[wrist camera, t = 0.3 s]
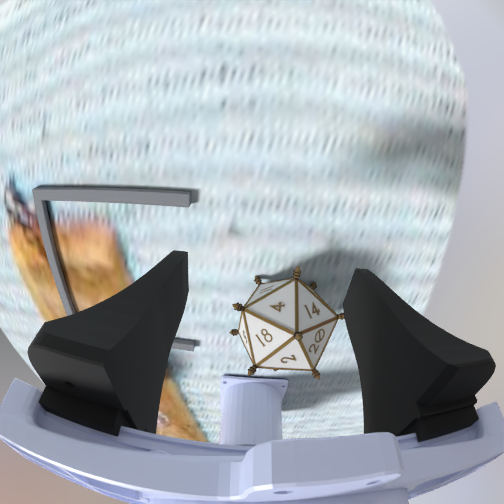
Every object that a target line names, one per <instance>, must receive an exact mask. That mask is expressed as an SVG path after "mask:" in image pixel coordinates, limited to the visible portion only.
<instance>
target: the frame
mask: <svg viewBox="0 0 504 504" xmlns="http://www.w3.org/2000/svg"><path fill="white" fill-rule="evenodd" d="M32 191H33V197H34V202H35V207H36V212H37V217H38V222H39V226H40V230H41V235H42V239H43V243H44V246H45V250H46V254H47V257H48V261H49V264H50V267H51V271H52V274H53V277H54V280H55V283H56V286H57V289H58V292H59V295H60V298H61V300H62V303H63V306H64V308H65V311H66V314H67V316H69V315H72V314H75V313H76V312H75V309H74V306H73V303H72V301H71V298H70V295H69V292H68V289H67V285H66V282H65V279H64V276H63V272H62V269H61V266H60V262H59V258H58V255H57V251H56V247H55V243H54V239H53V234H52V230H51V225H50V221H49V216H48V211H47V205H46V200H53V201H86V202H109V203H129V204H146V205H162V206H176V207H189V206H190V204H191V192H188V191H172V190H154V189H131V188H98V187H36V188H34V189H33V190H32ZM171 348H174V349H180V350H188V351H194V341H190V340H182V339H175V338H174V341H173V344H172V347H171Z"/></svg>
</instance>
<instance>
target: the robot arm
mask: <svg viewBox="0 0 504 504" xmlns="http://www.w3.org/2000/svg"><path fill="white" fill-rule="evenodd" d="M188 291H189V286H188V252H185V251H175V250H174V251H172V252H171V253H170V254H169V255H167V256H166V257H165V258H164V259H163V260H162V261H160V262H159V263H158V264H157V265H156V266H154V267H153V268H152V269H151V270H150V271H148V272H147V273H146V274H145V275H143V276H142V277H141V278H139V279H138V280H137V281H135V282H134V283H133V284H131V285H130V286H128V287H127V288H125V289H124V290H122V291H120V292H119V293H117V294H115V295H114V296H112V297H110V298H108V299H106V300H104V301H102V302H100V303H98V304H96V305H94V306H92V307H90V308H87V309H85V310H83V311H80V312H77V313H75V314H72V315H69V316H66V317H62V318H59V319H55V320H52V321H48V322H45V323H44V324H43V326H42V327H41V329H40V330H39V332H38V333H37V335H36V337H35V338H34V340H33V341H32V343H31V345H30V346H29V348H28V356H29V360H30V362H31V364H32V366H33V367H34V369H35V370H36V372H37V373H38V375H39V376H40V378H41V379H42V381H43V382H44V383H45V385H46V387H45V389H44V391H43V392H42V391H41V390H39V389H38V388H36V387H34V386H32V385H30V384H28V383H26V382H23V381H21V380H19V379H17V378H14V380H13V381H12V383H11V385H10V387H9V389H8V391H7V393H6V395H5V397H4V399H3V401H2V403H1V405H0V439H1V440H3V441H4V442H5V443H6V444H8V445H9V446H10V447H11V448H13V449H14V450H15V451H17V452H18V453H19V454H21V455H22V456H23V457H25V458H27V459H28V460H30V461H32V462H34V463H36V464H38V465H39V466H41V467H43V468H45V469H47V470H49V471H51V472H53V473H55V474H57V475H59V476H61V477H63V478H65V479H68V480H70V481H72V482H74V483H76V484H79V485H81V486H83V487H86V488H88V489H91V490H93V491H96V492H98V493H101V494H104V495H107V496H110V497H112V498H115V499H118V500H121V501H124V502H127V503H131V504H409V503H408V499H411V498H414V497H417V496H419V495H422V494H425V493H427V492H430V491H433V490H435V489H437V488H440V487H442V486H445V485H447V484H449V483H451V482H454V481H456V480H458V479H460V478H463V477H465V476H467V475H469V474H471V473H473V472H475V471H477V470H479V469H480V468H482V467H483V466H485V465H486V464H488V463H490V462H491V461H493V460H494V459H495V458H497V457H498V456H500V455H501V454H503V453H504V418H503V416H502V413H501V411H500V408H499V406H498V404H497V402H493V403H491V404H488V405H485V406H482V407H480V408H479V409H477V410H475V407H474V404H476V403H477V399H476V397H475V394H476V393H477V392H478V391H479V390H480V389H481V388H482V387H483V386H484V385H485V384H486V383H487V381H488V380H489V379H490V377H491V376H492V375H493V373H494V370H495V367H496V365H495V362H494V360H493V359H492V357H491V355H490V353H489V352H488V351H487V350H485V349H482V348H480V347H477V346H475V345H472V344H470V343H467V342H465V341H463V340H461V339H459V338H457V337H455V336H453V335H452V334H450V333H448V332H446V331H445V330H443V329H441V328H440V327H438V326H436V325H435V324H433V323H432V322H430V321H429V320H428V319H426V318H425V317H424V316H422V315H421V314H419V313H418V312H417V311H416V310H414V309H413V308H412V307H411V306H410V305H408V304H407V303H406V302H405V301H404V300H402V299H401V298H400V297H399V296H398V295H397V294H396V293H395V292H393V291H392V290H391V289H390V288H389V287H388V286H387V285H386V284H385V283H384V282H383V281H381V280H380V279H379V278H378V277H377V276H376V275H375V274H373V273H372V272H371V271H369V270H368V269H358V268H356V269H355V272H354V274H353V277H352V280H351V283H350V286H349V289H348V291H347V294H346V297H345V300H344V302H343V309H344V316H345V322H346V326H347V330H348V333H349V336H350V340H351V343H352V347H353V350H354V353H355V357H356V360H357V364H358V369H359V374H360V381H361V388H362V398H363V413H364V434H360V435H350V436H339V437H325V438H297V439H282V415H281V403H282V400H283V398H284V395H285V392H286V390H287V387H288V384H289V382H288V380H283V379H262V378H247V377H235V376H222V377H221V394H220V412H222V416H221V427H220V438H219V444H217V443H208V442H200V441H193V440H186V439H180V438H174V437H168V436H163V435H158V434H156V427H157V418H158V411H159V404H160V397H161V392H162V386H163V380H164V375H165V370H166V366H167V361H168V357H169V353H170V350H171V347H172V344H173V341H174V338H175V336H176V333H177V330H178V327H179V324H180V321H181V319H182V316H183V313H184V310H185V305H186V301H187V296H188Z"/></svg>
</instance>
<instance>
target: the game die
mask: <svg viewBox="0 0 504 504" xmlns="http://www.w3.org/2000/svg"><path fill="white" fill-rule="evenodd" d="M293 271H294V273H293V275H294V278H289V279H284V280H278V281H273V282H267V283H262V282H261V281H262V280H261V279H260V277H257V276H255V280H254V281H255V282H256V284H258V287H257V288H256V290H255V291H254V292H253V294H252V295H251V297H250V298H249V299H248V301H247V302H246V304H245V305H244V306H242V304H239V303H236V304H232V305H233V307H234V310H237V311H241V317H240V323H239V329H238V330H237V329H232V330H231V331H230V332H229V333H230V334H232V335H233V336H234V335H237V334H239V335H240V337H241V340H242V342H243V344H244V346H245V348H246V350H247V352H248V355H249V357H250V359H251V361H252V363H253V366H252V367H250V369H248V376H250V375H252V374H253V375H254V372H256V369H257V368H265V369H273V370H274V371H277V370H279V369H280V370H301V371H312V375H313V376H314V377H315V378H317V379H319V380H320V373H319V372H318V371H317V370H316V366H317V364H318V362H319V360H320V358H321V356H322V354H323V352H324V349H325V347H326V345H327V343H328V341H329V339H330V337H331V334H332V332H333V330H334V328H335V325H336V323H337V321H338V319H342V320H343V319H345V316H344V313H341V314H339V315H337V314H336V313H335V312H334V311H333V310H332V309H331V308H330V307H329V306H328V305H327V304H326V303H325V302H324V301H323V300H322V299H321V298H320V296H319V295H318V294H317V293H316V292H315V291H314V289H315V288H317V286H316V282H315V283H312V284H311V286H310V287H309V286H308V285H306V284H305V283H304V282H302V281H301V280H300V279H299V278H298V277H300V273H301V271H300V269H299V266H298V267H297V268H296V269H295V270H293Z"/></svg>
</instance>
